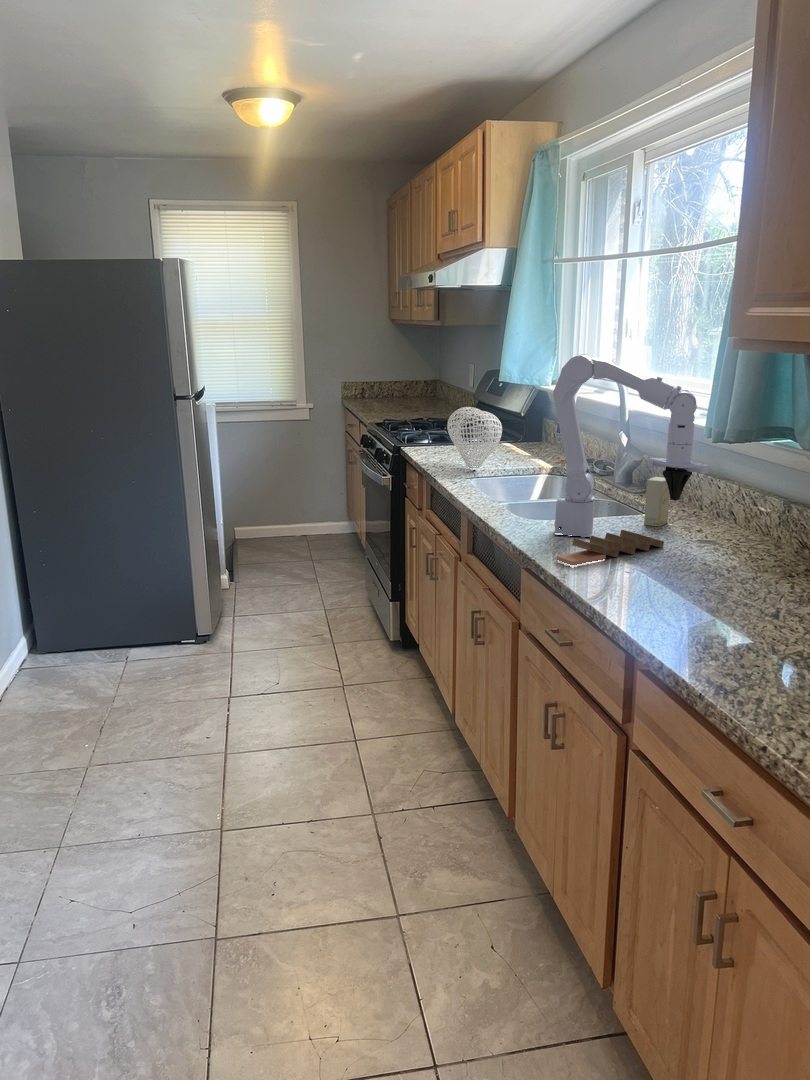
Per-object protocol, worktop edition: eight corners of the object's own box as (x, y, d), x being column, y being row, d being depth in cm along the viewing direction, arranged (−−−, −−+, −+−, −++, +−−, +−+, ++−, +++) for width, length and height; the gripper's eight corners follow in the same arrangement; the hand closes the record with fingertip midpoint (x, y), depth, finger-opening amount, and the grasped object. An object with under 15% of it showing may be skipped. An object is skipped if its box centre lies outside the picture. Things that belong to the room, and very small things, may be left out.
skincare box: (659, 527, 207) (663, 481, 204) (642, 524, 210) (646, 479, 207) (667, 522, 212) (671, 477, 209) (651, 520, 215) (655, 475, 211)
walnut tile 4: (617, 557, 180) (588, 550, 175) (601, 552, 184) (571, 545, 179) (619, 550, 180) (590, 543, 174) (603, 545, 184) (573, 538, 179)
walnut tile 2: (648, 551, 186) (620, 543, 180) (631, 546, 190) (604, 539, 184) (650, 544, 186) (623, 537, 180) (633, 540, 190) (606, 532, 184)
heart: (442, 465, 299) (442, 405, 293) (481, 463, 302) (483, 404, 296) (463, 479, 272) (464, 413, 266) (506, 477, 276) (508, 412, 270)
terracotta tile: (605, 561, 178) (572, 568, 173) (588, 556, 182) (556, 563, 177) (605, 554, 178) (573, 561, 173) (589, 549, 182) (556, 556, 177)
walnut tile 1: (662, 548, 188) (636, 540, 183) (646, 543, 192) (619, 536, 187) (664, 541, 188) (638, 533, 182) (647, 536, 192) (621, 529, 186)
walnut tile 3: (633, 554, 183) (605, 547, 177) (617, 549, 187) (589, 542, 181) (635, 547, 183) (607, 540, 177) (619, 543, 187) (591, 535, 181)
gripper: (643, 441, 190) (639, 497, 194) (699, 448, 180) (693, 506, 183) (659, 438, 195) (655, 493, 198) (715, 445, 184) (709, 502, 188)
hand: (675, 499), depth 191 cm, fingers closed
